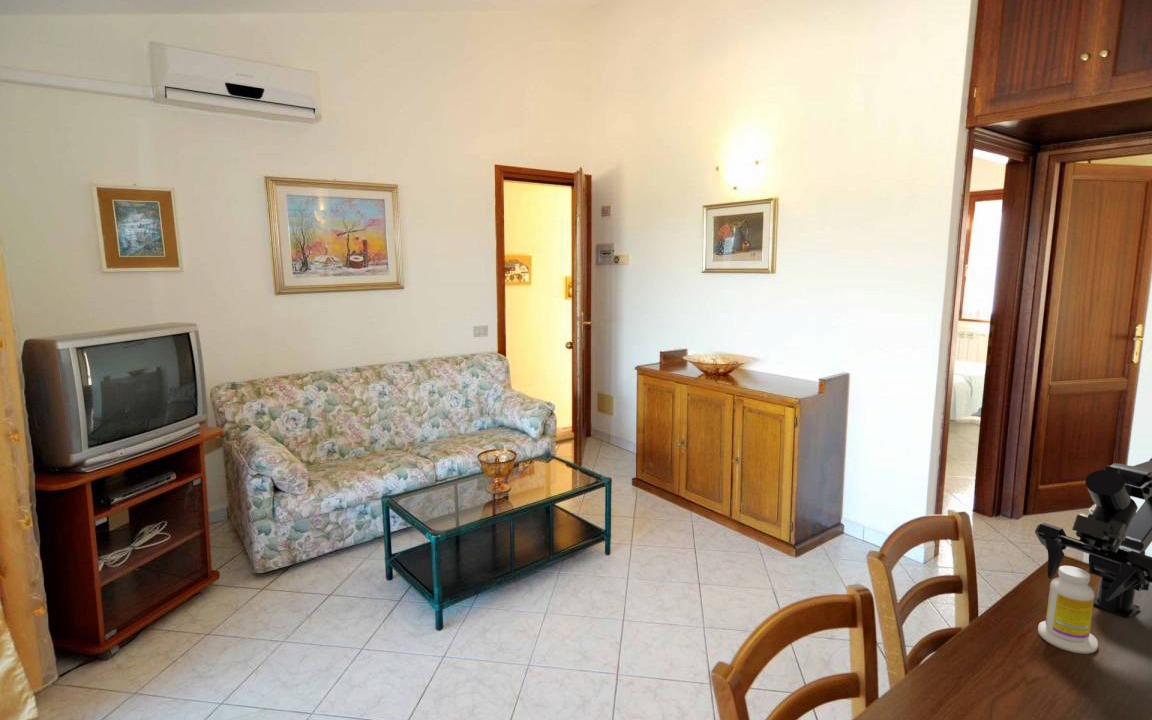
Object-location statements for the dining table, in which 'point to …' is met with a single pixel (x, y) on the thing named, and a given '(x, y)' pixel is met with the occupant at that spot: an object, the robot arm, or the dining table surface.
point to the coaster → (1071, 646)
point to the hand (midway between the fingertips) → (1077, 588)
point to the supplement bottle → (1070, 604)
